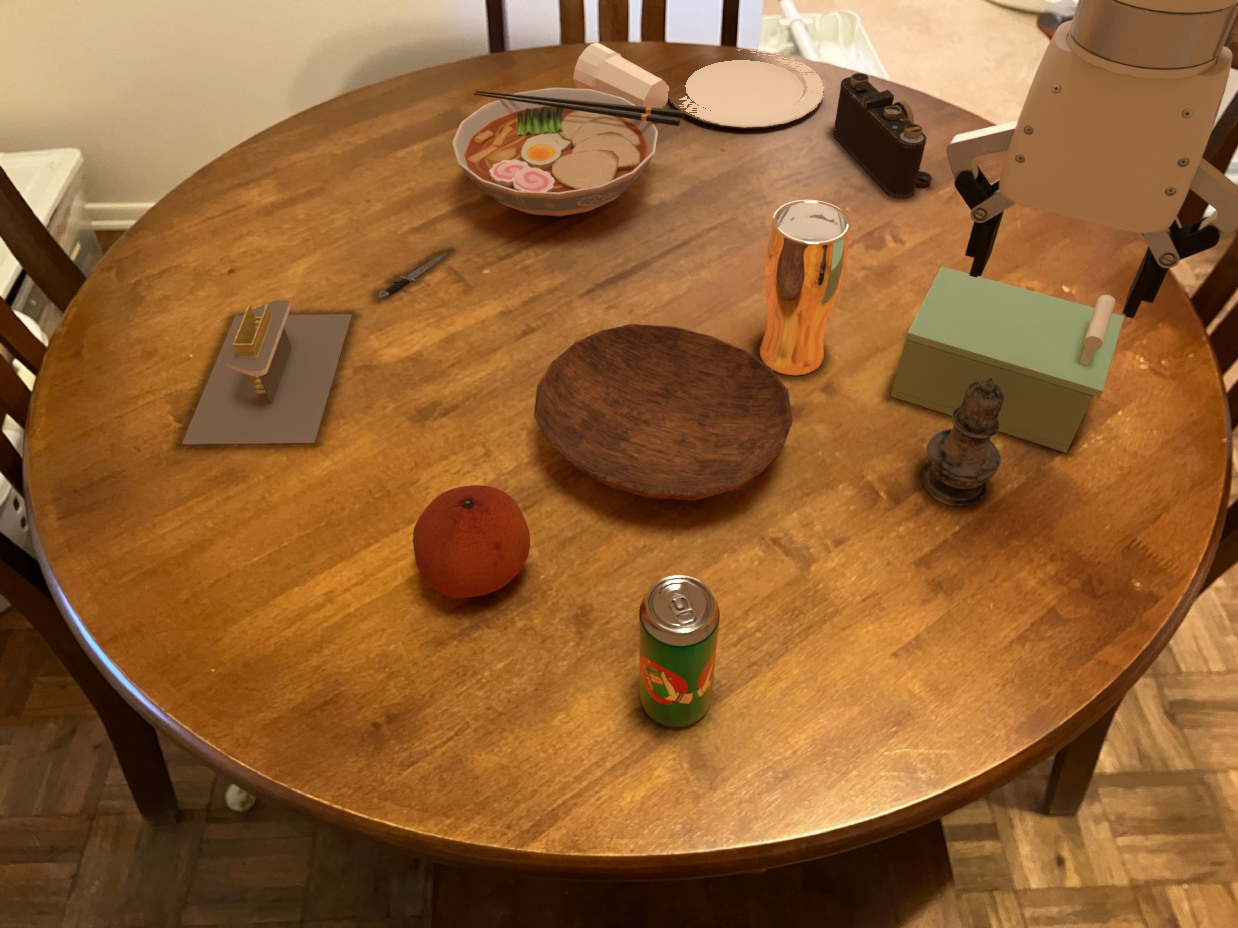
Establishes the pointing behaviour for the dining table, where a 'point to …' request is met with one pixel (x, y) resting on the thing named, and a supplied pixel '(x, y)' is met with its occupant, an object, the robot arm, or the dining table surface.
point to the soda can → (677, 650)
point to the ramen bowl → (558, 148)
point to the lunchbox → (1027, 400)
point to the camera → (881, 136)
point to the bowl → (663, 411)
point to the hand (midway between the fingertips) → (1053, 285)
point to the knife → (408, 279)
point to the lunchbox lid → (1020, 330)
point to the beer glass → (802, 282)
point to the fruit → (471, 541)
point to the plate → (751, 93)
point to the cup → (618, 77)
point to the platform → (270, 378)
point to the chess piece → (966, 448)
